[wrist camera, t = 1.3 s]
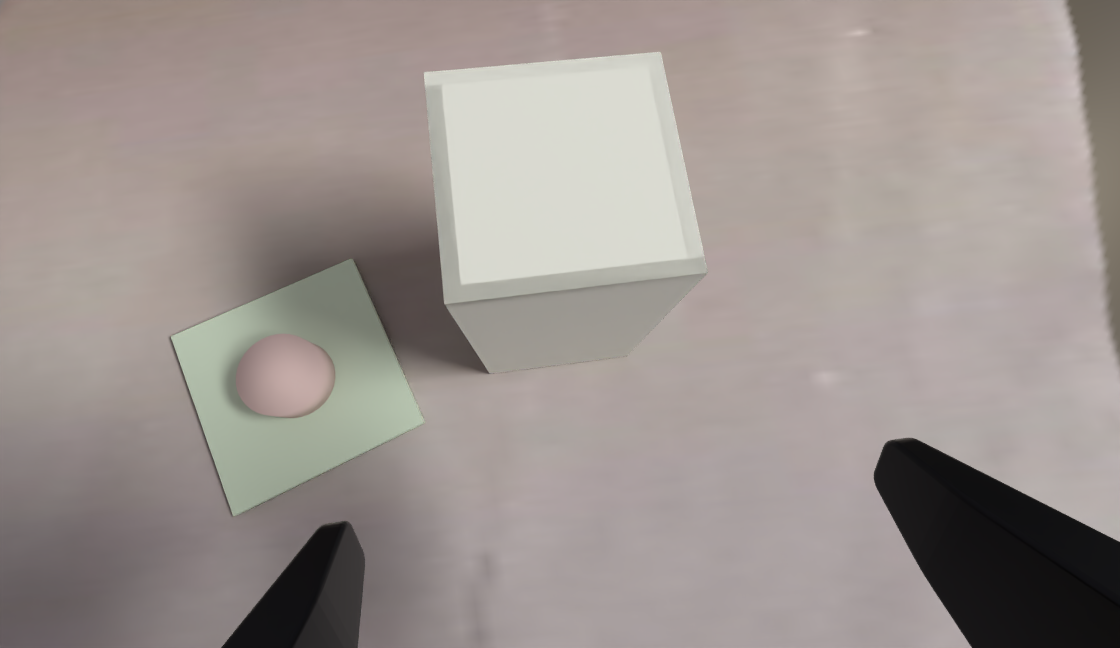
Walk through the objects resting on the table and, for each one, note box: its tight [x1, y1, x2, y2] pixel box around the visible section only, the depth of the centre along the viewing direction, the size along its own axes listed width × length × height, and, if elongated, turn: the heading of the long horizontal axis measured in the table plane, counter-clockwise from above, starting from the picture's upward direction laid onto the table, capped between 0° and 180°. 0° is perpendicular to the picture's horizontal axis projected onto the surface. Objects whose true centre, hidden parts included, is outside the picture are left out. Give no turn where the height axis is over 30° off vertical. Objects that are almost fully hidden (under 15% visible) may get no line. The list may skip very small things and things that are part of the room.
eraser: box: [236, 334, 335, 418], centre depth 21 cm, size 3×3×2 cm
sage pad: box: [171, 258, 425, 516], centre depth 21 cm, size 8×8×1 cm
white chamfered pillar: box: [424, 52, 708, 374], centre depth 18 cm, size 6×6×11 cm
